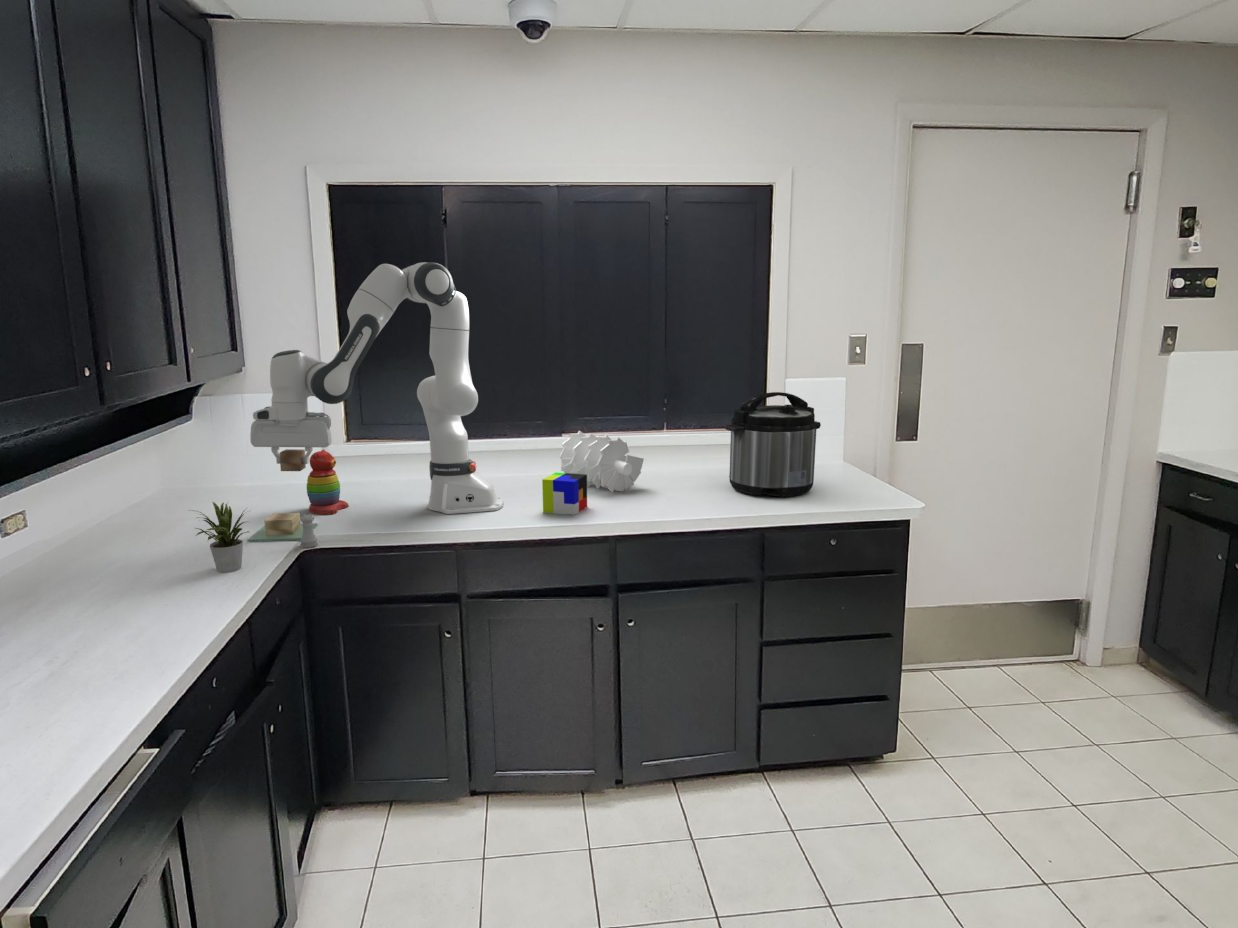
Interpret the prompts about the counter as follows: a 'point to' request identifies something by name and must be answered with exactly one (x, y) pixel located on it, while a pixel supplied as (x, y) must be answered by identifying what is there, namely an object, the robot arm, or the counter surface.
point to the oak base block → (282, 524)
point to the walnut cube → (292, 460)
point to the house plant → (225, 540)
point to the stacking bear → (324, 485)
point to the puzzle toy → (564, 493)
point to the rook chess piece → (308, 532)
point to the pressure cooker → (773, 447)
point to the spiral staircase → (600, 461)
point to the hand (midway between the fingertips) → (292, 463)
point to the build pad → (262, 536)
